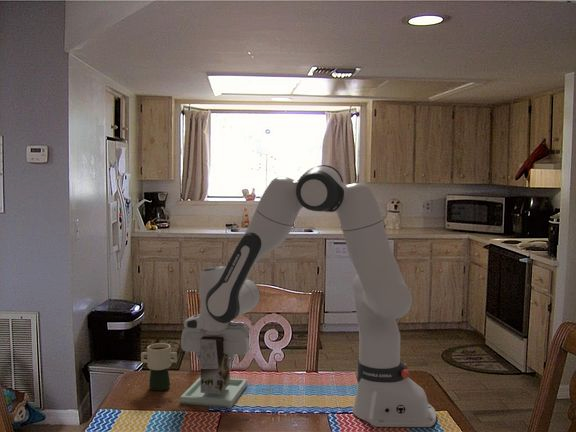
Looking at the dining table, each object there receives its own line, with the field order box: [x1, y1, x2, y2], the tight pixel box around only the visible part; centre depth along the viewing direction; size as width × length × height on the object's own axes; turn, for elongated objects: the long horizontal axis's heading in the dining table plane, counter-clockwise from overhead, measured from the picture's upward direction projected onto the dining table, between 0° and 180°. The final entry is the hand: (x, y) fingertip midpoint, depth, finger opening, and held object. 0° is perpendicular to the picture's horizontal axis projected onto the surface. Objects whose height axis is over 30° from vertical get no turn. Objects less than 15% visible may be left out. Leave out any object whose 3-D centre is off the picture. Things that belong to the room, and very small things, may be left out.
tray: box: [179, 375, 248, 409], centre depth 173 cm, size 15×17×2 cm
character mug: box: [140, 342, 178, 391], centre depth 177 cm, size 11×7×13 cm, turn 91°
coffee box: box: [199, 336, 231, 394], centre depth 172 cm, size 9×6×16 cm
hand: (215, 366), depth 172 cm, fingers closed on coffee box, 6 cm apart
